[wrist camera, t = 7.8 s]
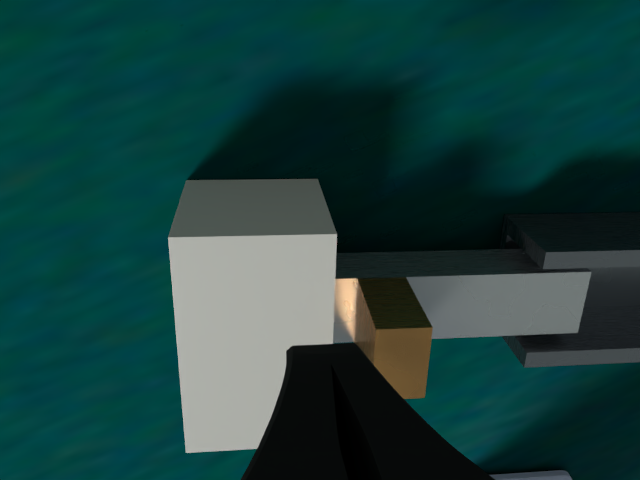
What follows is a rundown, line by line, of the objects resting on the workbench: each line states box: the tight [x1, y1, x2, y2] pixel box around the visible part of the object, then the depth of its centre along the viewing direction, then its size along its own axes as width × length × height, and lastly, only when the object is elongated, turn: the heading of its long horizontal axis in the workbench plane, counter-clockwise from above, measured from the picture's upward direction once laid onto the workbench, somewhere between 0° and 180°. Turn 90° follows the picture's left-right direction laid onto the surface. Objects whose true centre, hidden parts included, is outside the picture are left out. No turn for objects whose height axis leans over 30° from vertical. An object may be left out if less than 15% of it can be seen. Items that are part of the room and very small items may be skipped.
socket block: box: [168, 179, 337, 453], centre depth 20 cm, size 7×4×5 cm, turn 179°
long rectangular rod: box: [333, 249, 591, 399], centre depth 19 cm, size 2×12×5 cm, turn 88°
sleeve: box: [499, 212, 640, 367], centre depth 22 cm, size 4×10×3 cm, turn 88°
